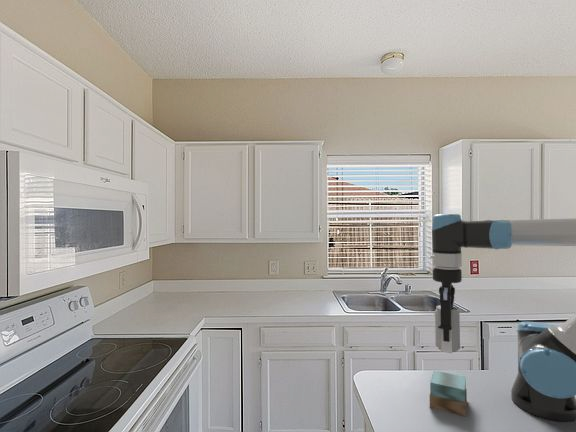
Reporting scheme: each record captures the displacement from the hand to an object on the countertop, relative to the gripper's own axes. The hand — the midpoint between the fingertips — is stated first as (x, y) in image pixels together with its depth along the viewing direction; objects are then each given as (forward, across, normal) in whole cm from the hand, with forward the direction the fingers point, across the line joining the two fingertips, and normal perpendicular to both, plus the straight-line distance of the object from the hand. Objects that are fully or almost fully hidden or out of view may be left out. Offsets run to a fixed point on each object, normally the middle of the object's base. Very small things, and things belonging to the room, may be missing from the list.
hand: (447, 347), depth 95 cm
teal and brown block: (+16, 0, 0) cm, 16 cm away
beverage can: (+1, 0, 0) cm, 1 cm away
